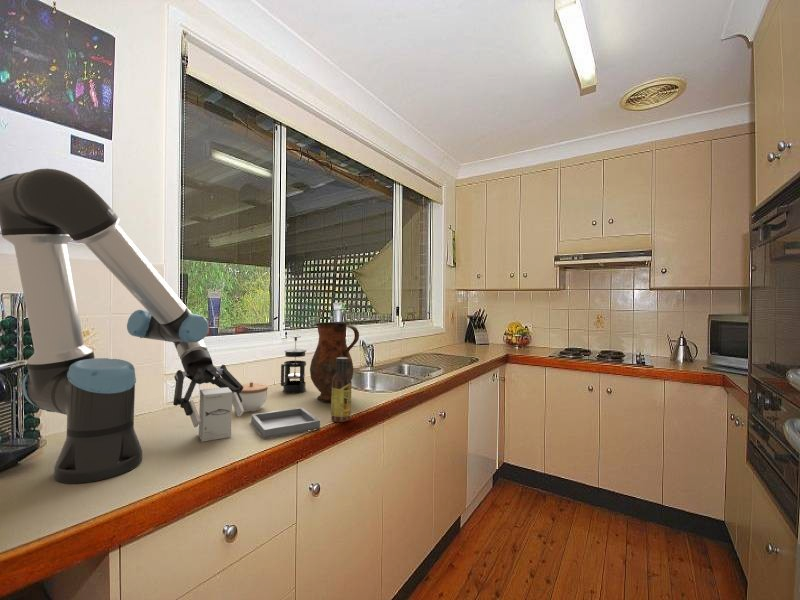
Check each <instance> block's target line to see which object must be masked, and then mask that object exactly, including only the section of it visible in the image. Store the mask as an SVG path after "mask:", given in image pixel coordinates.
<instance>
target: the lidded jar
mask: <svg viewBox="0 0 800 600" xmlns="http://www.w3.org/2000/svg"><path fill="white" fill-rule="evenodd" d="M241 385H242V386H243V387H244V388H243V389H242V391H241V392H240V393H239V394H240V396H241V399H242V402H241V404H242V407H243V409H244V412H245V411H248V412H247V413H249V411H251V412H256V410H257V411H259V410H260V409H261V408H262V407H263V406H264V405H265V403H266V400H267V396H268V386H269V385H267V384H264V383H254V381H249V383H245V384H241Z"/></svg>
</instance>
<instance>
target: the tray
mask: <svg viewBox="0 0 800 600" xmlns="http://www.w3.org/2000/svg"><path fill="white" fill-rule="evenodd" d="M250 417H251V418H250V423H251V424H252V425H253V427H254V428H255V429H256V431H257V432H258V433H259V434H260V436H261V437H262V438H263V440H267V439H272V438H271V437H273V438H277V436H278V437H283V436H282V435H284V436H289V434H290V435H295V434H300V433H299V432H301V433H305V432H304V431H307V432H309V431H308V430H312V431H315V430H314V429H318V430H321V420H320V419H319V418H317V417H316V416H314V415H313V414H312V413H310V412H309V411H308V410H306V409H305V408H303V407H296V408H289V409H281V410H273V411H267V412H260V413H252V414H250ZM294 433H295V434H294ZM266 438H267V439H266Z"/></svg>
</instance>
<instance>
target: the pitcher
mask: <svg viewBox="0 0 800 600" xmlns="http://www.w3.org/2000/svg"><path fill="white" fill-rule="evenodd" d="M347 324H348V323H347V322H346V321H331V322H327V321H326V322H316V324H315V325H316V328H317V332H318V343H317V346H316V348H315V351H314V354H313V356H312V358H311V361H310V365H309V373H310V375H309V376H310V380H311V382H312V383H313V385H314V386H315V388H316V389H317V390H318V391H319V392H320V393H319V395H318V396H317V397H316V399H317V401H319V402H322V403H329V404H331V398H332V380H333V377H334V375H335V374H336V372H337V371H336V369H337V363H336V358H339V357H347V358H349V363H348V373H349V376H350V379H351V381H352V379H353V378H354V377H353V376H354V369H355V368H354V363H353V359H352V356H351V353H350V351H351V349H352V348H353V347H354V346H355V345H356V344H357V343H358V341H359V340H360V339H359V338H360V331H359V330H358V328H357V327H356V326H354V325H347ZM347 328H349V329H351V330H352V331H353V334H354V338H353V341H352V342H351V343H350V345H349V346H348V345H347V336H346V332H347Z"/></svg>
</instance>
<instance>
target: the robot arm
mask: <svg viewBox="0 0 800 600" xmlns="http://www.w3.org/2000/svg"><path fill="white" fill-rule="evenodd" d="M119 223H120V217H119V216H118V215H117V214H116V213H115V211H114V210H113V209H112V208H111V207H110V205H109V204H108V203H107V202H106V201H105V200H104V199H103V198H102V197H101V196H100V195H99V194H98V193H97V192H96V190H94V189H93V188H91V187H90V186H89V184H87V183H86V182H84V181H83V180H81V179H80V178H78V177H76V176H75V175H73V174H71V173H69V172H66V171H63V170H59V169H54V168H39V169H33V170H30V171H27V172H21V173H13V174H9V175H6V176H3V177H1V178H0V232H1V237H2V238H3V239H4V240H6V241H8V242H9V243H10V244H12V245H13V246H14V251H15V256H16V259H17V267H18V271H19V277H20V282H21V283H20V284H21V288H22V292H23V299H24V303H25V309H26V313H27V319H28V324H29V329H30V330H29V331H30V334H31V335H30V336H31V339H32V344H33V345H32V346H33V350H34V352H33V354H32V355H31V356H29V358H28V359H27V360H26V364H27V365H26V366H27V370H28V372H27V374H26V375H24V378H23V380H22V384H21V386H22V387H21V388H22V393H23V396H24V397H25V399H26V400H27V401H28V402H29V403H30V404H31V405H32V406H35V407H36V408H38V409H39V410H41V411H42V410H43V411H45V412H50V413H58V414H61V415H66V416H67V417H66V438H65V441H64V443H63V445H62V448H61V450H60V453H59V455H58V457H57V460H56V463H55V465H54V470H53V472H54V474H53V478H54V480H55V481H57V482H59V483H64V484H82V483H90V482H91V483H92V482H96V481H101V480H105V479H106V480H107V479H110V478H114V477H117V476H120V475H123V474H125V473H127V472H130V471H131V470H133V469H135V468H136V467H137V466H139V465H140V464H141V463H142V461H143V449H142V445H141V443H140V441H139V439H138V435H137V433H136V430H135V427H134V426H135V424H134V423H135V421H134V420H135V395H136V383H137V377H136V369H135V366H134V364H133V363H132V362H129V361H127V360H124V359H119V358H118V359H117V358H109V357H107V358H105V357H103V358H102V357H100V358H99V357H97V358H95V353H94V349H93V348H91V347H89V346H87V345H86V344H85V342H84V337H83V332H82V325H81V319H80V314H79V307H78V303H77V302H78V301H77V295H76V290H75V284H74V278H73V272H72V266H71V261H70V260H71V259H70V255H69V249H68V243H69V242H70V241H71V240H73V241H74V242H77V243H81V244H84V245H85V246H86V247H87V248H88V249H89V250H90V251H91V252H92V253H93V254H94V256H95V257H96V258H97V259H98V260H99V261H100V262H101V263H102V264H103V265H104V267H106V269H107V270H108V271H109V272H111V274H113V276H114V277H115V278H116V279H117V280H118V281H119V282H120V283H121V284H122V286H124V287H125V288H126V290H127V291H129V293H130V294H131V295H132V296H133V297H134V298H135V299H136V300H137V301H138V303H140V305H142V307H144V309H137V310H134V311H133V312H132V313H131V314H130V316H129V318H128V320H127V323H126V330H127V332H128V334H129V335H130V336H132V337H138V338H140V339H147V340H148V339H149V340H155V341H164V342H167V343H169V342H170V343H173V345H174V347H175V349H176V352H177V354H178V357H179V360H180V361H181V364H182V368H183V369H184V370H183V371H182V369H178V370H177V371H176V373H175V375H174V380H175V388H174V396H173V402H172V403H173V406H176V407H177V406H179V407H180V408H181V409H183V410H184V413H185V415H186V417H187V416H189V418H190V420H191V423H192V425H193V427H194V428H197V427H199V423H200V422H201V420H200V417H199V413H198V409H197V406H196V403H195V401H194V400H193V399H192V400H191V397H192V394H193V391H194V390H195V387H196V385H197V384H198V385H202V384H209V383H210V384H212V385H215V386H217V388H225V387H228V388H229V389H230V390H231V391H232V407H233V408H234V411H235V413H236V415H237V417H241V416H242V415H243V413H244V412H245V411H244V409H243V407H242V404H241V402H242V399H241V396H240V394H239V393H240V392H241V391H242V389H243V388H244V387H243V386H242V385H243V384H242V383H240V382H239V380H238V379H236V377H234V376H233V374H232V373H231V372H230V371H229V370H228V368H227V367H226V365H225V364H222V365H220V366H218V367H217V366H215V365H214V363H213V359H212V356H211V354H210V353H209V351H208V347H207V345H206V343H205V341H204V339H205V338H206V336H207V335H208V333H209V329H210V328H209V327H210V325H209V322H208V319H206V317H204V316H203V315H202V314H199V313H198V314H197V313H192V312H191V310H190V309H189V308H188V307H187V306H186V304H184V302H183V301H182V300H181V298H180V297H179V296H178V294H176V293H175V292H174V290H173V289H172V288H171V287H170V286H169V284H168V283H167V282H166V281H165V279H164V278H163V277H162V276H161V275H160V274H159V272H158V270H156V268H155V267H154V266H153V265H152V263H150V261H149V260H148V259H147V258H146V256H145V255H144V254H143V253H142V252H141V251H140V249H139V248H138V247H137V245H136V244H135V243H134V242H133V241H132V240H131V239H130V237H129V236H128V235H127V234H126V233H125V232H124V230H123V229H122V228H121V226H120V225H119ZM185 377H186V378H188V379H189V380H190V383H189V385H188V387H187V390H186V392H185V395H184V397H182V396H183V386H184V379H185Z"/></svg>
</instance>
